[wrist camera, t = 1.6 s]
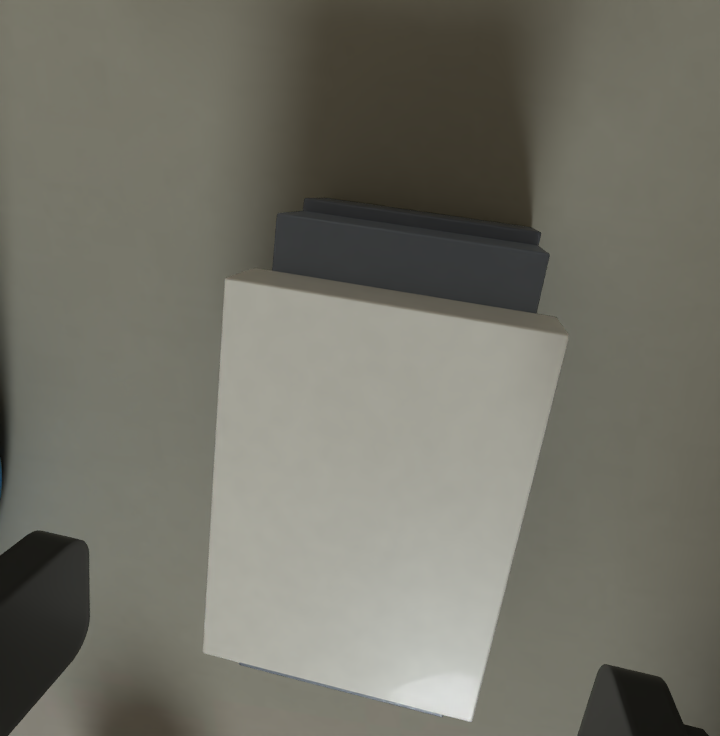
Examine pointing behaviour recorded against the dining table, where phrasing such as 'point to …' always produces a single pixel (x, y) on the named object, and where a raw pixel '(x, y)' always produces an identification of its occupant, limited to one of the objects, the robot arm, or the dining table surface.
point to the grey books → (411, 263)
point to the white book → (371, 482)
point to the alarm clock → (0, 477)
